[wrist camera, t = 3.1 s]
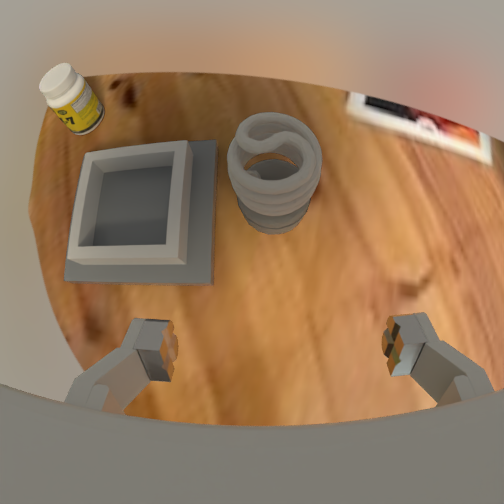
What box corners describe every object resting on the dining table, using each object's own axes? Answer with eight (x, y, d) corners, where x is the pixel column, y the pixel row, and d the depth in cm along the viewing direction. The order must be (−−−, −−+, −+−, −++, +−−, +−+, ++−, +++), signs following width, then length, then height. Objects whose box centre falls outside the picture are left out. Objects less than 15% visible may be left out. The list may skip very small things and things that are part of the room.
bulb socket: (218, 147, 30) (211, 124, 26) (213, 285, 27) (204, 277, 23) (90, 161, 30) (72, 142, 26) (72, 283, 27) (48, 275, 23)
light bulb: (230, 232, 28) (202, 164, 16) (255, 177, 29) (246, 87, 17) (292, 257, 27) (309, 201, 15) (314, 199, 28) (340, 116, 16)
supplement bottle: (65, 129, 32) (29, 89, 24) (89, 100, 33) (59, 56, 25) (86, 141, 31) (49, 98, 23) (113, 110, 32) (82, 63, 24)
